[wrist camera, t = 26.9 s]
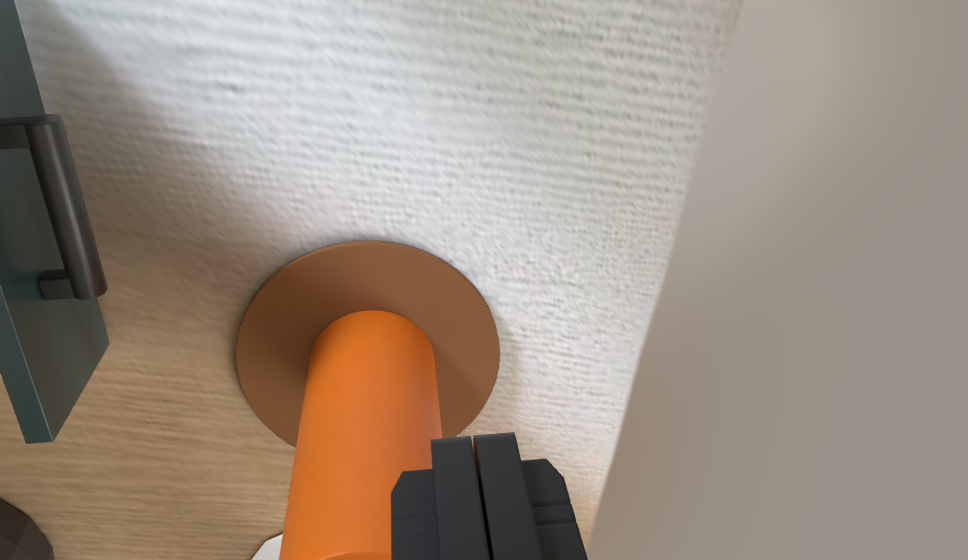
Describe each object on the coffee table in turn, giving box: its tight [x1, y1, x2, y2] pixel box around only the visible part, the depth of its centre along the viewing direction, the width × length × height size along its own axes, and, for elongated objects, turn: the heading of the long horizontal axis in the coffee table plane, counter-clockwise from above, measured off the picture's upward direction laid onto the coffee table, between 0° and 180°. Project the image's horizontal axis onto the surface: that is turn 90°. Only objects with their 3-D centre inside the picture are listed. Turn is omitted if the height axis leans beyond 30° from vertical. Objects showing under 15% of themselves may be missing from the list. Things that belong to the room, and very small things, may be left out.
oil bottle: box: [279, 310, 442, 560], centre depth 26 cm, size 5×5×17 cm
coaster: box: [235, 241, 500, 447], centre depth 34 cm, size 11×11×1 cm
